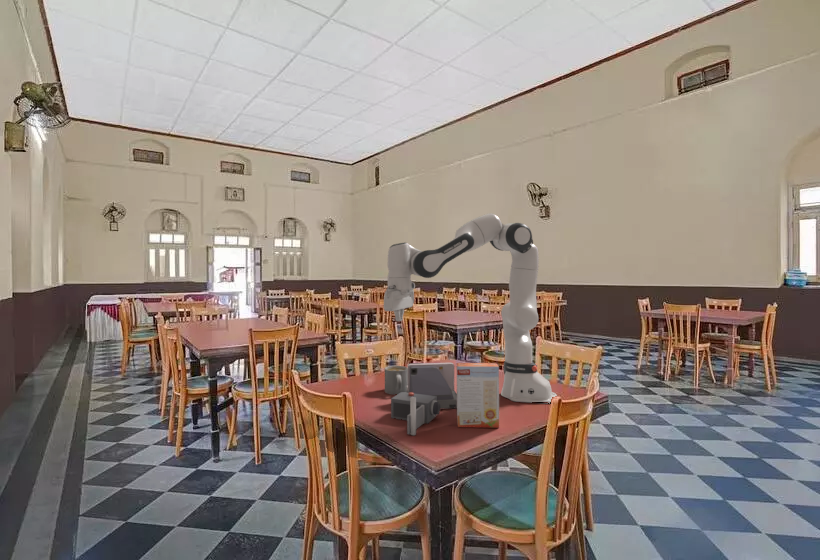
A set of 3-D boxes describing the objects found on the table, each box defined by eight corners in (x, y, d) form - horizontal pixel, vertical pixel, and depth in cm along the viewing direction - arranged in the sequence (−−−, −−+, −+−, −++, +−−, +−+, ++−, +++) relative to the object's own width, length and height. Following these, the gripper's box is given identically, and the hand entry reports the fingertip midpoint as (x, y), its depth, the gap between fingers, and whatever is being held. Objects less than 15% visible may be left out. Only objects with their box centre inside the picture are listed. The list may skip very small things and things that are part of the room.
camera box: (441, 416, 158) (441, 394, 158) (433, 424, 149) (433, 401, 149) (401, 410, 164) (401, 389, 164) (390, 418, 156) (390, 396, 156)
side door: (421, 422, 151) (421, 388, 151) (429, 423, 150) (429, 389, 149) (406, 434, 140) (406, 397, 140) (414, 435, 139) (414, 399, 139)
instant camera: (456, 395, 184) (456, 359, 184) (460, 411, 164) (460, 371, 163) (406, 394, 185) (406, 359, 184) (404, 411, 164) (404, 371, 164)
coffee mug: (385, 388, 194) (385, 365, 194) (407, 388, 194) (407, 365, 194) (383, 397, 181) (383, 373, 181) (407, 397, 181) (407, 373, 181)
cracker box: (496, 422, 152) (497, 362, 151) (499, 428, 146) (499, 366, 145) (456, 421, 152) (456, 361, 152) (457, 427, 146) (457, 365, 146)
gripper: (394, 286, 157) (394, 324, 158) (416, 284, 176) (416, 318, 176) (379, 286, 160) (379, 323, 160) (402, 283, 178) (402, 317, 179)
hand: (399, 320), depth 168 cm, fingers closed
